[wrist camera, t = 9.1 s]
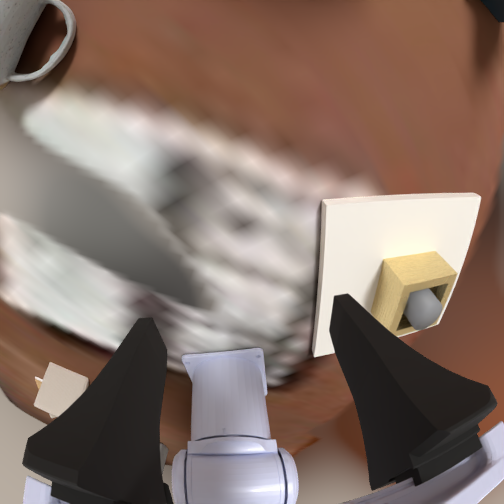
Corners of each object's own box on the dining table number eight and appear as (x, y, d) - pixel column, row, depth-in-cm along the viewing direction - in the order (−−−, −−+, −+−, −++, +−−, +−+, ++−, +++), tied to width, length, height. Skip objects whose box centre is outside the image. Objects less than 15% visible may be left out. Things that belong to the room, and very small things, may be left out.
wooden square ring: (419, 300, 23) (436, 324, 21) (370, 311, 23) (385, 339, 20) (435, 250, 20) (457, 273, 17) (383, 258, 20) (404, 285, 17)
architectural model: (89, 386, 29) (78, 431, 23) (46, 368, 27) (31, 410, 21) (89, 375, 28) (75, 423, 22) (43, 355, 26) (25, 401, 20)
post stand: (434, 318, 27) (456, 351, 23) (311, 349, 27) (325, 393, 22) (474, 192, 19) (514, 219, 14) (321, 199, 18) (354, 238, 14)
